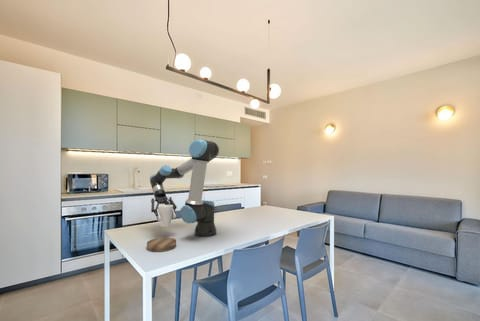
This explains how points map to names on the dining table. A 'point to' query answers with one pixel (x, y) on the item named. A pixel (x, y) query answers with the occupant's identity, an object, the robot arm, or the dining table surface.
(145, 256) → the dining table surface
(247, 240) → the dining table surface
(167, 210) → the foam cup
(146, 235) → the dining table surface
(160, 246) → the walnut pedestal
